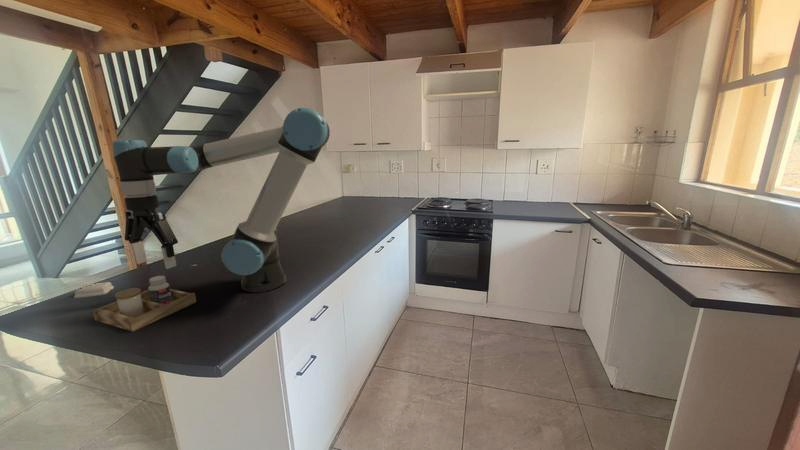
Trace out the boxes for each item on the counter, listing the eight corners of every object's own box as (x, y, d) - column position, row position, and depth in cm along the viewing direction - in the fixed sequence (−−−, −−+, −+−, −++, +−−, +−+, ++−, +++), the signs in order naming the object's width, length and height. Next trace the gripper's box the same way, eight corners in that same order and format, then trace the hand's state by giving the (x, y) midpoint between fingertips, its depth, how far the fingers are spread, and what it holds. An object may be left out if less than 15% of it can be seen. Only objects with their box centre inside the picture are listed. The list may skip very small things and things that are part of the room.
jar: (150, 313, 93) (145, 289, 91) (128, 323, 88) (122, 297, 86) (137, 310, 95) (132, 286, 93) (116, 319, 90) (110, 294, 88)
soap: (72, 299, 105) (70, 291, 104) (84, 291, 111) (82, 283, 110) (106, 295, 108) (104, 287, 107) (115, 287, 114) (114, 280, 113)
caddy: (196, 304, 100) (195, 293, 99) (133, 334, 84) (130, 321, 83) (161, 295, 106) (159, 285, 105) (95, 322, 90) (92, 310, 89)
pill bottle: (161, 309, 95) (155, 282, 93) (147, 307, 96) (141, 280, 94) (176, 301, 100) (171, 275, 98) (162, 300, 101) (157, 274, 99)
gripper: (183, 194, 90) (196, 264, 95) (128, 192, 98) (143, 257, 103) (155, 198, 83) (171, 273, 88) (99, 196, 92) (116, 264, 97)
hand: (156, 265), depth 96 cm, fingers open, 13 cm apart
